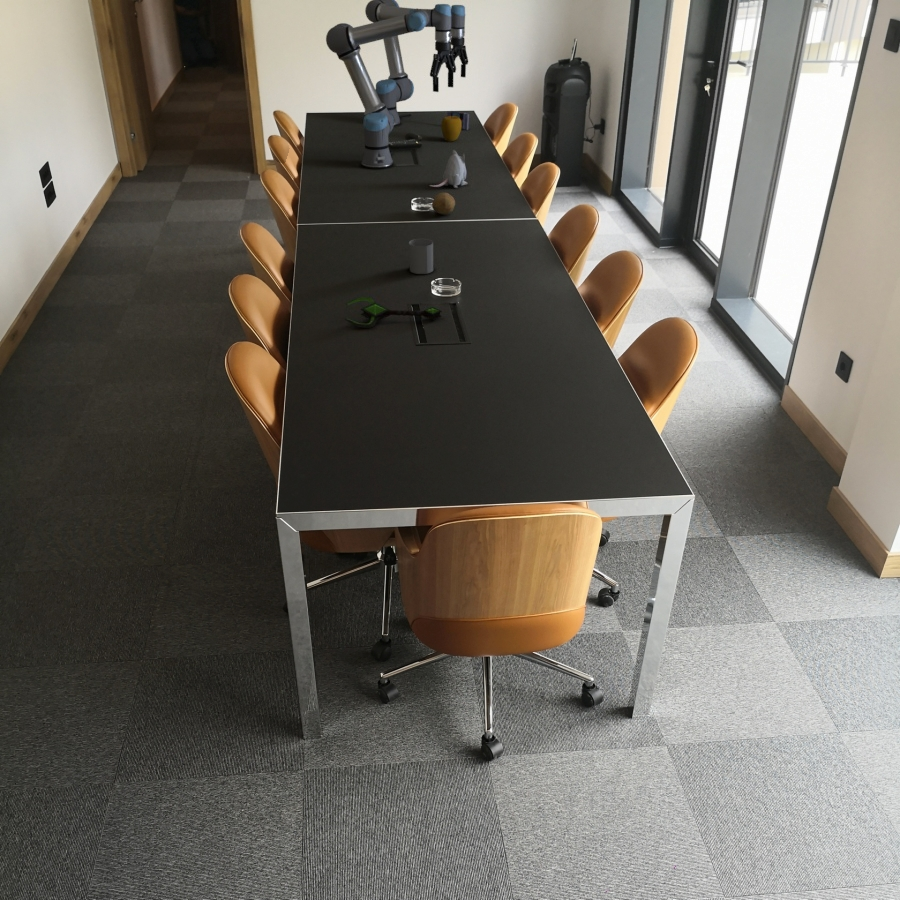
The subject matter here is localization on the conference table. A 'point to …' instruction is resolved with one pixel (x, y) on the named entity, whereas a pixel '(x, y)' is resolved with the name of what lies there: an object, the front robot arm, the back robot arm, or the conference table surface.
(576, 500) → the conference table surface
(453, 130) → the apple
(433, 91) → the front robot arm
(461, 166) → the toy
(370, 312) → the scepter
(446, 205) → the potato
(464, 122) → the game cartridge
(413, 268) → the cup
